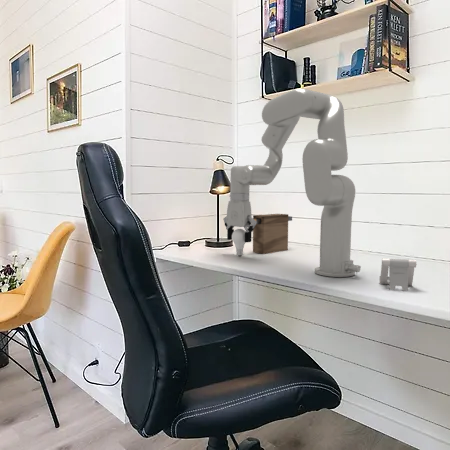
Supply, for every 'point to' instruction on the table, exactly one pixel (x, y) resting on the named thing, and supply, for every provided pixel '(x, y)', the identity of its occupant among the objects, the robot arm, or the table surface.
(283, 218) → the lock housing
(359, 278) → the table surface
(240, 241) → the lightbulb
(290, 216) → the bar
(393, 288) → the portable electronic device stand
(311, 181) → the robot arm
